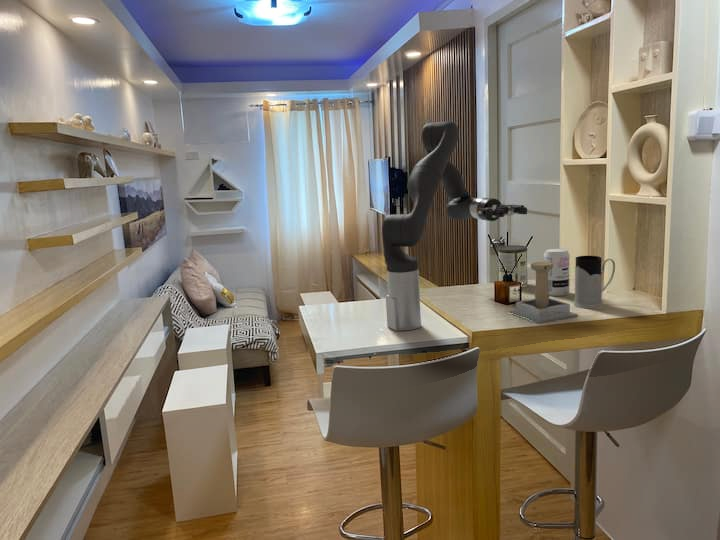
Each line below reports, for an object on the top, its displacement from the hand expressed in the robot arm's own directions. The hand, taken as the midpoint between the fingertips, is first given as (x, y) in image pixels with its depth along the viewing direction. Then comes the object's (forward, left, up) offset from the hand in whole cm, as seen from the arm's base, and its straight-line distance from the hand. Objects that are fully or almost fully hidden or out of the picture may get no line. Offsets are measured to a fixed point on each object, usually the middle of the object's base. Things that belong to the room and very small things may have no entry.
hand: (514, 212), depth 187 cm
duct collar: (0, -13, -30) cm, 33 cm away
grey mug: (+21, -12, -30) cm, 39 cm away
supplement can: (+20, +5, -30) cm, 37 cm away
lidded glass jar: (+16, +24, -30) cm, 42 cm away
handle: (0, -13, -30) cm, 32 cm away
